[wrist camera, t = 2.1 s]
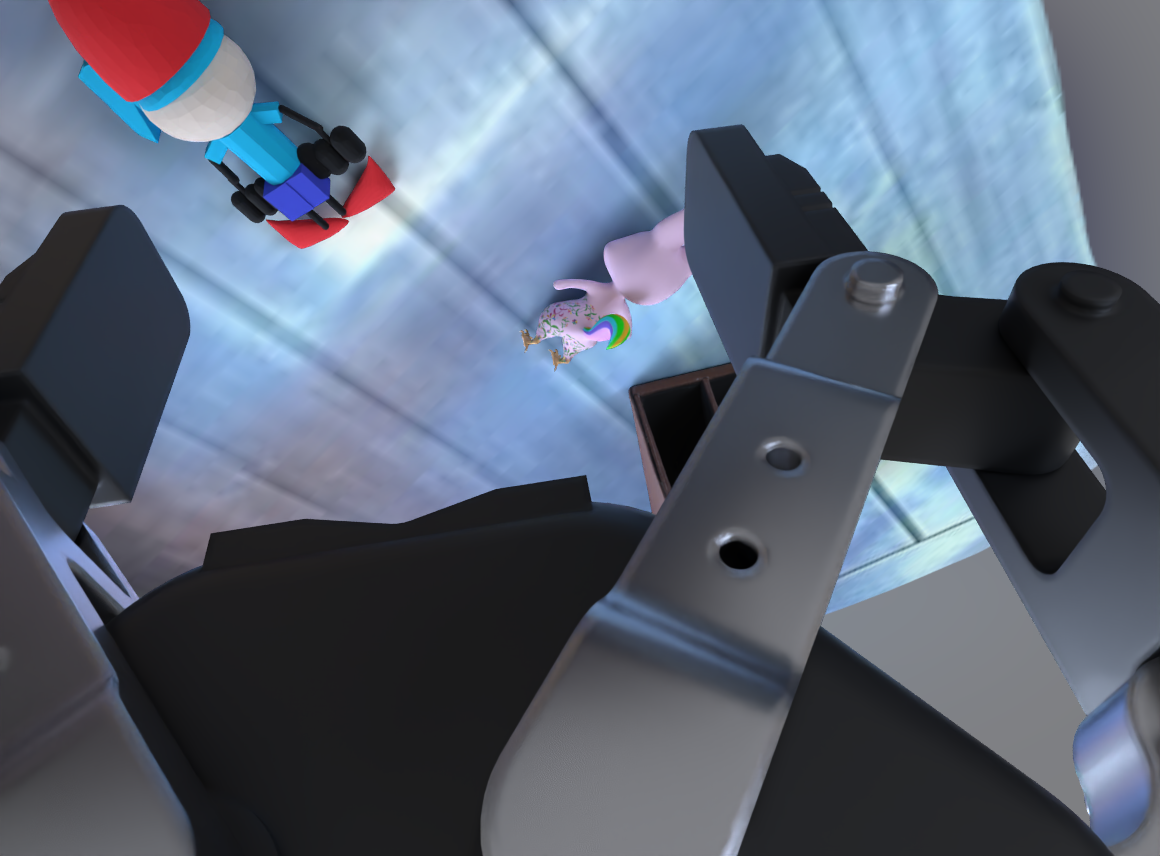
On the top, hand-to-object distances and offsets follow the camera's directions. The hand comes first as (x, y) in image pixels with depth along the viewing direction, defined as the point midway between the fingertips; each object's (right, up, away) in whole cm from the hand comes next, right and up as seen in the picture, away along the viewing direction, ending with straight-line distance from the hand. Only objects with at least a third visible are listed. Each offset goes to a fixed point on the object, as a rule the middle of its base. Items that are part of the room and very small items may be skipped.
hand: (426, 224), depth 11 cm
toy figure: (-13, +12, +22) cm, 28 cm away
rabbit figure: (+5, +7, +31) cm, 32 cm away
